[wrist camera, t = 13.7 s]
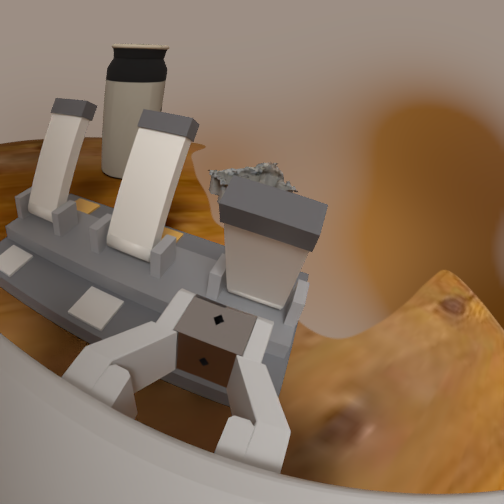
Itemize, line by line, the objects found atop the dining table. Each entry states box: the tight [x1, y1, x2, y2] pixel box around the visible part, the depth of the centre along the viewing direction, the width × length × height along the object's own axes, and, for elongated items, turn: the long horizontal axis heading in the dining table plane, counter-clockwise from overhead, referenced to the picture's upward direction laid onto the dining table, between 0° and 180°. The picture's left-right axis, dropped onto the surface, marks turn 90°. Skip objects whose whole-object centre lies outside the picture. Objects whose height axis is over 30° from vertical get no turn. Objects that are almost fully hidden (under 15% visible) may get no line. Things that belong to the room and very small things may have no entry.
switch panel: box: [0, 187, 309, 407], centre depth 24 cm, size 14×27×5 cm, turn 75°
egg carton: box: [209, 163, 298, 203], centre depth 41 cm, size 11×8×4 cm
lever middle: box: [107, 109, 199, 262], centre depth 22 cm, size 2×4×11 cm, turn 75°
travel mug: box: [102, 44, 169, 179], centre depth 37 cm, size 8×8×18 cm
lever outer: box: [219, 175, 328, 310], centre depth 18 cm, size 2×4×11 cm, turn 74°
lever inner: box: [28, 98, 97, 223], centre depth 23 cm, size 2×4×11 cm, turn 75°
